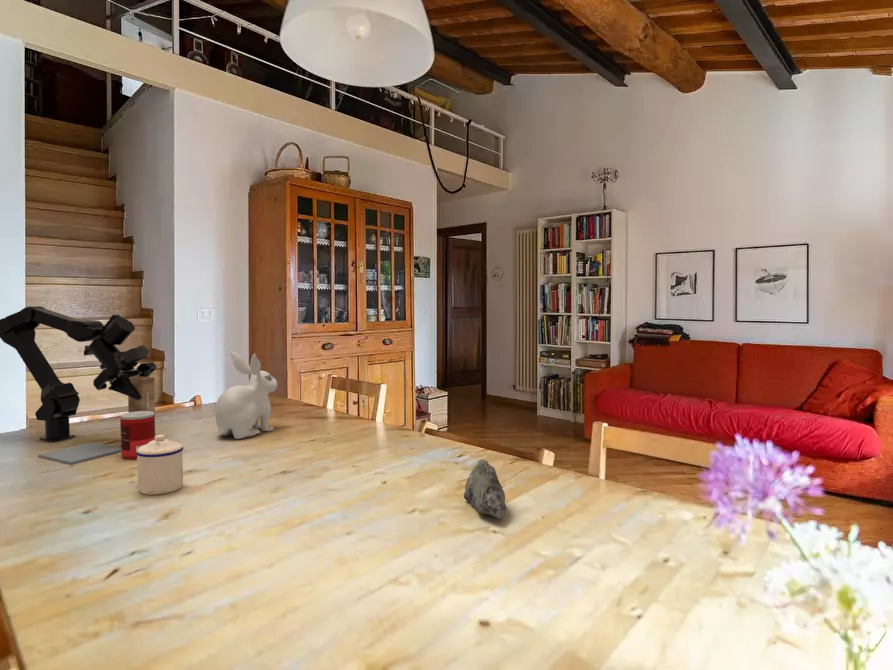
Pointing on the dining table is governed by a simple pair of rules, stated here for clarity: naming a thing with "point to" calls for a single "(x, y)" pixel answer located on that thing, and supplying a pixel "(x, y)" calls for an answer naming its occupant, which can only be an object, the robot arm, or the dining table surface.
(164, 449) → the lidded ceramic jar
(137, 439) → the canned food
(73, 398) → the robot arm
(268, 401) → the rabbit
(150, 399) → the wooden block
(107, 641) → the dining table surface
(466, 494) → the mineral rock
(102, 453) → the flat gray square pad
